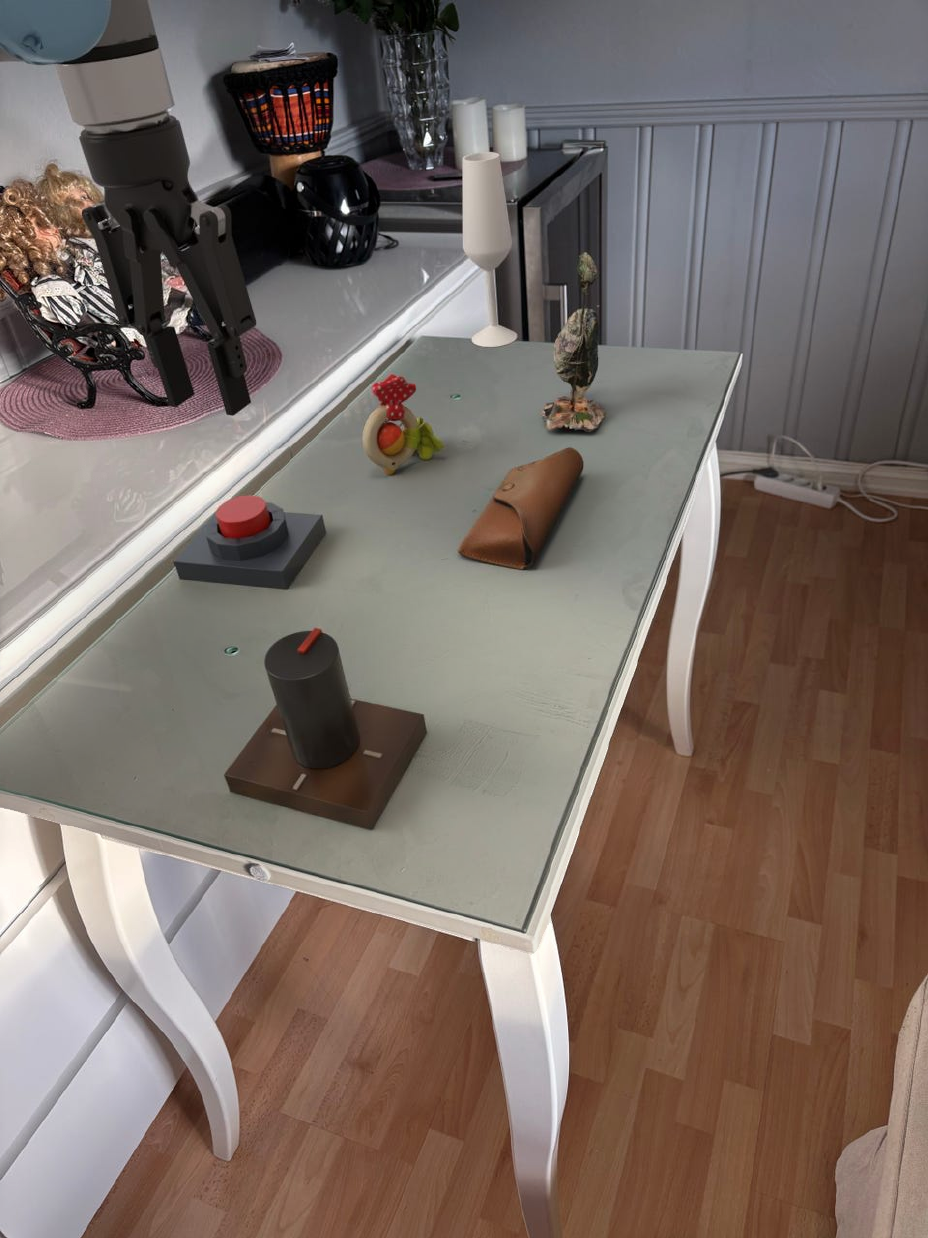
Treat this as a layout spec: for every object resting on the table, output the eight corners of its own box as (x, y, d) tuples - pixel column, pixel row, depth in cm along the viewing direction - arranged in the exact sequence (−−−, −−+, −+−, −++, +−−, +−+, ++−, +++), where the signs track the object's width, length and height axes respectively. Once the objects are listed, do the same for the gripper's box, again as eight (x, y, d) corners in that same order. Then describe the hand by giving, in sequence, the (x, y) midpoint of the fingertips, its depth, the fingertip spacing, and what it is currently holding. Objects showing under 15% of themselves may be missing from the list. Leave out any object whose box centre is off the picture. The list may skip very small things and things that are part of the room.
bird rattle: (412, 496, 103) (459, 438, 105) (368, 431, 95) (420, 369, 97) (375, 481, 107) (422, 425, 109) (330, 416, 98) (381, 357, 100)
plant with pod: (619, 397, 113) (621, 229, 101) (594, 440, 105) (593, 264, 93) (556, 392, 116) (551, 228, 103) (527, 433, 108) (518, 262, 96)
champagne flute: (464, 345, 130) (447, 163, 115) (480, 327, 135) (465, 150, 120) (509, 348, 128) (497, 162, 113) (523, 329, 133) (513, 149, 118)
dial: (339, 776, 66) (314, 683, 60) (278, 760, 68) (248, 668, 62) (371, 726, 70) (350, 634, 64) (312, 712, 72) (287, 621, 66)
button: (212, 537, 90) (206, 520, 89) (234, 510, 94) (229, 493, 92) (257, 541, 89) (252, 524, 87) (278, 513, 92) (274, 496, 91)
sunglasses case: (510, 464, 102) (537, 420, 97) (563, 497, 102) (592, 455, 97) (453, 556, 89) (480, 510, 84) (513, 593, 89) (545, 550, 85)
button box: (179, 579, 91) (167, 546, 89) (224, 524, 99) (215, 492, 96) (287, 589, 88) (278, 555, 86) (326, 532, 96) (319, 499, 93)
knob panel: (230, 792, 69) (222, 773, 67) (295, 702, 76) (290, 683, 74) (371, 830, 65) (366, 811, 63) (427, 732, 72) (423, 712, 70)
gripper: (257, 107, 67) (318, 397, 82) (71, 111, 75) (158, 376, 89) (193, 132, 62) (271, 436, 77) (1, 132, 70) (104, 410, 84)
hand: (210, 403), depth 83 cm, fingers open, 6 cm apart
